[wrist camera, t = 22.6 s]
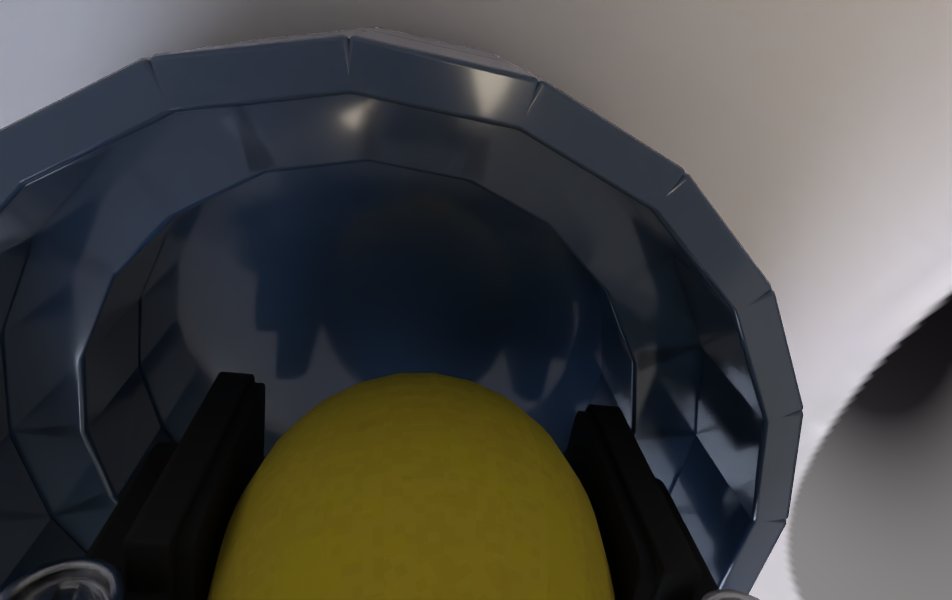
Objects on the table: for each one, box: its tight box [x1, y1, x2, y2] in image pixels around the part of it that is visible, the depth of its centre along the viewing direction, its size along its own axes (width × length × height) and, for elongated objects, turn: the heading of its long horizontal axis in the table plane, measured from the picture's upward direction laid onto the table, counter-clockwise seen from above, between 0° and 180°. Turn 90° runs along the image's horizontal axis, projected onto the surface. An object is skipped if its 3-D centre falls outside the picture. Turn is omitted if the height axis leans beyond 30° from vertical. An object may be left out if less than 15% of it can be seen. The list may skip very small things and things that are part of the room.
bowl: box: [0, 27, 803, 594], centre depth 12 cm, size 13×13×5 cm
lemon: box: [207, 373, 615, 600], centre depth 9 cm, size 6×6×8 cm
